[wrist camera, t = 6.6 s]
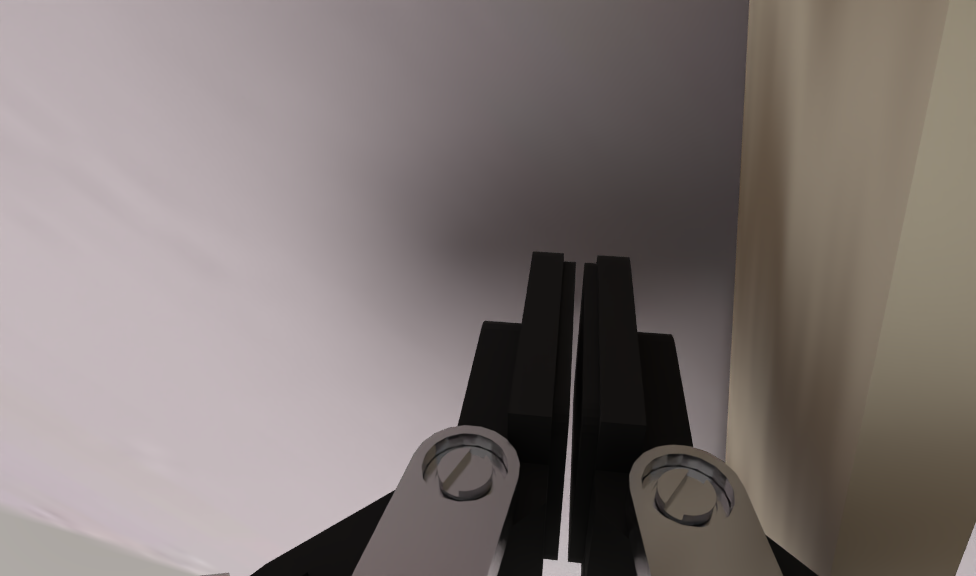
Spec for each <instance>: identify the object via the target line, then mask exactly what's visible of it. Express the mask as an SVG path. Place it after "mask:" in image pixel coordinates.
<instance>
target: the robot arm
mask: <svg viewBox="0 0 976 576" xmlns="http://www.w3.org/2000/svg"><path fill="white" fill-rule="evenodd" d="M563 261H564V253H549V252H533V255H532V261H531V268H530V274H529V281H528V287H527V293H526V300H525V306H524V312H523V319H522V324H521V323H507V322H494V321H484V322H483V325H482V328H481V332H480V336H479V341H478V345H477V349H476V353H475V357H474V361H473V365H472V369H471V373H470V377H469V382H468V386H467V390H466V394H465V398H464V402H463V406H462V410H461V414H460V419H459V423H458V426H456V427H450V428H447V429H444V430H442V431H439V432H437V433H434V434H433V435H432V436H430V437H429V438H428V439H426V440H425V441H424V442H422V444H421V445H420V446H419V448H418V449H417V450H416V452H415V453H414V455H413V456H412V458H411V460H410V462H409V464H408V466H407V468H406V470H405V472H404V474H403V476H402V478H401V480H400V482H399V484H398V486H397V488H396V490H394V491H392V492H391V493H389V494H387V495H385V496H384V497H382V498H380V499H378V500H377V501H375V502H373V503H372V504H370V505H368V506H366V507H365V508H363V509H361V510H359V511H358V512H356V513H354V514H352V515H351V516H349V517H347V518H345V519H344V520H342V521H340V522H338V523H337V524H335V525H333V526H331V527H330V528H328V529H326V530H324V531H323V532H321V533H319V534H318V535H316V536H314V537H312V538H311V539H309V540H307V541H305V542H304V543H302V544H300V545H298V546H297V547H295V548H293V549H291V550H290V551H288V552H286V553H284V554H283V555H281V556H279V557H277V558H276V559H274V560H272V561H270V562H269V563H267V564H265V565H264V566H263V567H261V568H260V569H259V570H257V571H256V572H255V573H253V574H252V575H250V576H542V569H543V559H551V560H558V548H559V536H560V524H561V512H562V500H563V488H564V475H565V463H566V451H567V439H568V426H569V409H570V387H571V364H572V340H573V316H574V292H575V268H576V262H563ZM568 562H575V563H581V576H819V575H817V574H816V573H815V572H813V571H812V570H811V569H809V568H808V567H807V566H806V565H804V564H803V563H802V562H800V561H799V560H798V559H797V558H795V557H794V556H793V555H791V554H790V553H789V552H787V551H786V550H785V549H784V548H782V547H781V546H780V545H778V544H777V543H776V542H774V541H773V540H772V539H771V538H769V537H768V536H767V535H765V533H764V531H763V528H762V526H761V524H760V521H759V519H758V517H757V514H756V512H755V510H754V508H753V505H752V503H751V501H750V498H749V496H748V494H747V491H746V489H745V487H744V485H743V484H742V482H741V481H740V479H739V477H738V476H737V474H736V473H735V472H734V471H733V470H732V469H731V468H730V467H729V466H728V465H727V464H725V463H724V462H723V461H722V460H720V459H718V458H717V457H715V456H713V455H711V454H710V453H708V452H706V451H703V450H700V449H697V448H693V443H692V437H691V431H690V426H689V420H688V415H687V409H686V403H685V398H684V392H683V386H682V381H681V375H680V370H679V364H678V358H677V353H676V347H675V342H674V338H673V336H672V335H671V334H658V333H644V332H637V324H636V314H635V304H634V294H633V284H632V274H631V264H630V258H629V257H616V256H599V255H598V256H597V262H596V263H585V265H584V275H583V287H582V299H581V311H580V322H579V334H578V346H577V357H576V369H575V381H574V398H573V426H572V455H571V484H570V513H569V542H568ZM202 576H230V574H229V573H222V574H212V575H202Z"/></svg>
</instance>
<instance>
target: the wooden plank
mask: <svg viewBox="0 0 976 576" xmlns="http://www.w3.org/2000/svg"><path fill="white" fill-rule="evenodd" d="M725 464H727V465H728V466H729V467H730V468H731V469H732V470H733V471H734V472H735V473H736V474H737V476H738V477H739V479H740V481H741V482H742V484H743V485H744V487H745V489H746V491H747V494H748V496H749V498H750V501H751V503H752V505H753V508H754V510H755V512H756V514H757V517H758V519H759V521H760V524H761V526H762V528H763V531H764V533H765V535H767V536H768V537H769V538H771V539H772V540H773V541H774V542H776V543H777V544H778V545H780V546H781V547H782V548H784V549H785V550H786V551H787V552H789V553H790V554H791V555H793V556H794V557H795V558H797V559H798V560H799V561H800V562H802V563H803V564H804V565H806V566H807V567H808V568H809V569H811V570H812V571H813V572H815V573H816V574H817V575H819V576H955V575H956V572H957V570H958V567H959V564H960V562H961V559H962V557H963V554H964V551H965V549H966V546H967V544H968V541H969V538H970V536H971V533H972V531H973V528H974V525H975V523H976V0H749V18H748V37H747V56H746V75H745V94H744V113H743V133H742V152H741V171H740V190H739V209H738V228H737V248H736V267H735V286H734V305H733V324H732V343H731V362H730V382H729V401H728V420H727V439H726V458H725Z"/></svg>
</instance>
